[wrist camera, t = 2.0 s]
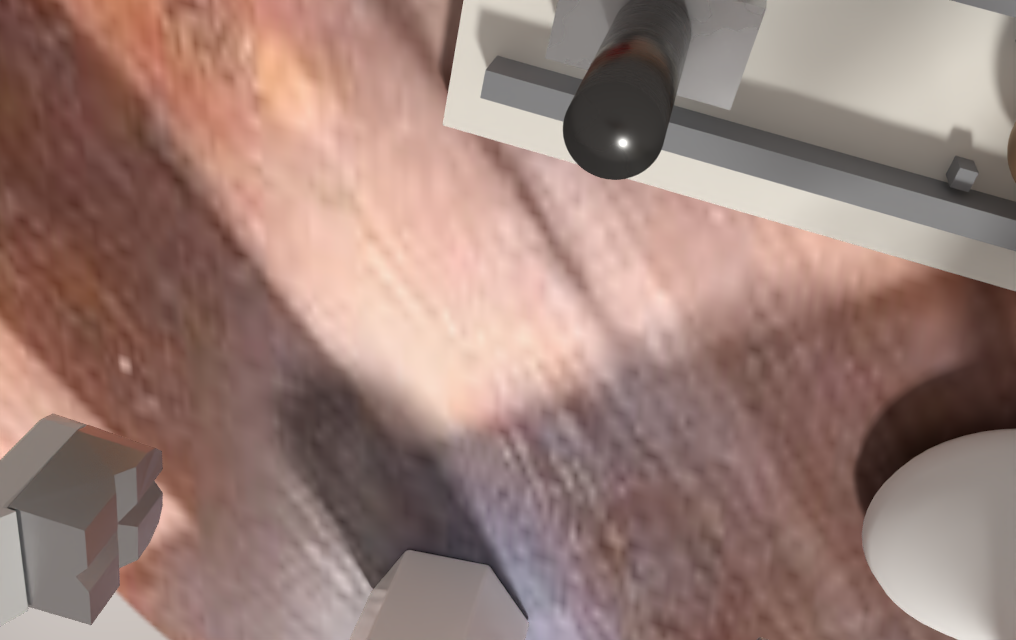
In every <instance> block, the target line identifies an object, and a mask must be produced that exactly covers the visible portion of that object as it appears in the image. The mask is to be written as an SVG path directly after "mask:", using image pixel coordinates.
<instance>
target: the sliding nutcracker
mask: <svg viewBox="0 0 1016 640" xmlns="http://www.w3.org/2000/svg"><path fill="white" fill-rule="evenodd" d="M557 3H558V0H464V1H463V6H462V12H461V18H460V24H459V30H458V36H457V42H456V48H455V54H454V60H453V66H452V72H451V78H450V84H449V90H448V96H447V102H446V108H445V114H444V120H443V125H444V126H447V127H451V128H454V129H458V130H461V131H465V132H468V133H472V134H475V135H478V136H482V137H485V138H489V139H492V140H496V141H499V142H503V143H506V144H509V145H513V146H516V147H520V148H523V149H527V150H530V151H534V152H537V153H540V154H544V155H547V156H551V157H554V158H558V159H561V160H565V161H568V162H571V163H575V164H577V163H576V162H575V161H574V160H573V158H572V157H571V155H570V154H569V152H568V150H567V148H566V145H565V142H564V138H563V122H564V117H565V114H566V111H567V109H568V107H569V105H570V103H571V101H572V99H573V98H574V96H575V94H576V92H577V90H578V88H579V86H580V84H581V82H582V80H583V78H584V76H585V75H586V73H587V71H588V70H585V69H582V68H578V67H575V66H571V65H567V64H564V63H560V62H557V61H553V60H550V59H546V58H545V57H546V52H547V48H548V43H549V39H550V34H551V30H552V26H553V21H554V17H555V12H556V8H557ZM1015 122H1016V0H767V4H766V11H765V14H764V16H763V19H762V22H761V25H760V28H759V31H758V33H757V36H756V39H755V42H754V45H753V47H752V50H751V53H750V56H749V59H748V61H747V64H746V67H745V70H744V73H743V75H742V78H741V81H740V84H739V87H738V90H737V92H736V95H735V98H734V101H733V104H732V106H731V109H730V110H728V109H724V108H720V107H717V106H713V105H710V104H706V103H703V102H699V101H696V100H692V99H688V98H685V97H681V96H678V95H676V98H675V102H674V106H673V110H672V113H671V117H670V121H669V125H668V128H667V132H666V136H665V140H664V144H663V147H662V150H661V152H660V154H659V156H658V157H657V159H656V160H655V162H654V163H653V164H652V165H651V166H650V167H649V168H647V169H646V170H645V171H643V172H642V173H640V174H638V175H636V176H633V177H630V178H627V179H630V180H634V181H637V182H640V183H644V184H647V185H651V186H654V187H658V188H661V189H665V190H668V191H671V192H675V193H678V194H682V195H685V196H689V197H692V198H696V199H699V200H702V201H706V202H709V203H713V204H716V205H720V206H723V207H727V208H730V209H734V210H737V211H740V212H744V213H747V214H751V215H754V216H758V217H761V218H765V219H768V220H771V221H775V222H778V223H782V224H785V225H789V226H792V227H796V228H799V229H802V230H806V231H809V232H813V233H816V234H820V235H823V236H827V237H830V238H833V239H837V240H840V241H844V242H847V243H851V244H854V245H858V246H861V247H864V248H868V249H871V250H875V251H878V252H882V253H885V254H889V255H892V256H896V257H899V258H902V259H906V260H909V261H913V262H916V263H920V264H923V265H927V266H930V267H933V268H937V269H940V270H944V271H947V272H951V273H954V274H958V275H961V276H964V277H968V278H971V279H975V280H978V281H982V282H985V283H989V284H992V285H995V286H999V287H1002V288H1006V289H1009V290H1013V291H1016V183H1015V181H1014V179H1013V177H1012V175H1011V172H1010V169H1009V166H1008V160H1007V146H1008V140H1009V136H1010V133H1011V130H1012V128H1013V126H1014V124H1015Z"/></svg>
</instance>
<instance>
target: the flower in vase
mask: <svg viewBox="0 0 1016 640" xmlns="http://www.w3.org/2000/svg"><path fill="white" fill-rule="evenodd" d="M862 543H863V550H864V554H865V558H866V561H867V563H868V565H869V567H870V569H871V571H872V573H873V574H874V576H875V577H876V579H877V580H878V582H879V583H880V585H881V586H882V588H883V589H884V591H885V592H886V594H887V595H888V596H889V597H890V598H891V599H892V600H893V601H894V603H895V604H896V605H898V606H899V607H900V608H901V609H902V610H904V611H905V612H906V613H907V614H909V615H910V616H912V617H913V618H915V619H916V620H918V621H919V622H921V623H923V624H925V625H927V626H929V627H931V628H933V629H935V630H937V631H939V632H941V633H944V634H946V635H948V636H951V637H953V638H956V639H958V640H1016V429H999V430H991V431H983V432H978V433H974V434H969V435H965V436H961V437H958V438H955V439H952V440H949V441H946V442H943V443H941V444H939V445H936V446H934V447H932V448H930V449H928V450H926V451H924V452H922V453H921V454H919V455H917V456H916V457H914V458H913V459H911V460H910V461H909V462H907V463H906V464H905V465H903V466H902V467H901V468H900V469H898V470H897V471H896V472H895V473H894V474H893V475H892V476H891V477H890V478H889V479H888V480H887V481H886V482H885V483H884V484H883V485H882V486H881V488H880V489H879V490H878V492H877V493H876V494H875V496H874V497H873V499H872V501H871V503H870V505H869V507H868V509H867V512H866V515H865V518H864V522H863V530H862Z"/></svg>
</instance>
